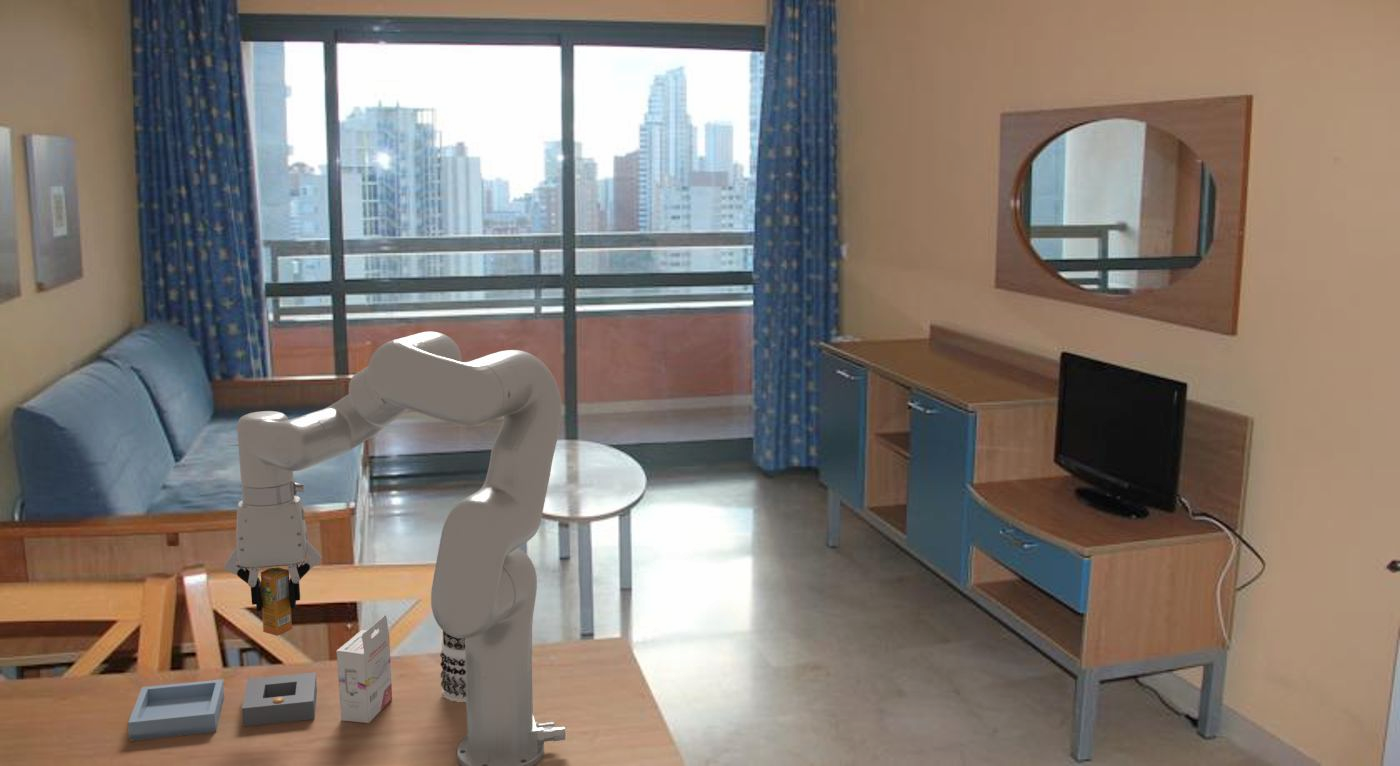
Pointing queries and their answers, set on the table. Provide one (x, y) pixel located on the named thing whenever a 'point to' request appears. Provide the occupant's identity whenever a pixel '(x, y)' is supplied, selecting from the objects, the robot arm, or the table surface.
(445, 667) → the decorative candle
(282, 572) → the supplement box
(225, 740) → the table surface
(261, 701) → the holder and tray
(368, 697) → the ink cartridge box
